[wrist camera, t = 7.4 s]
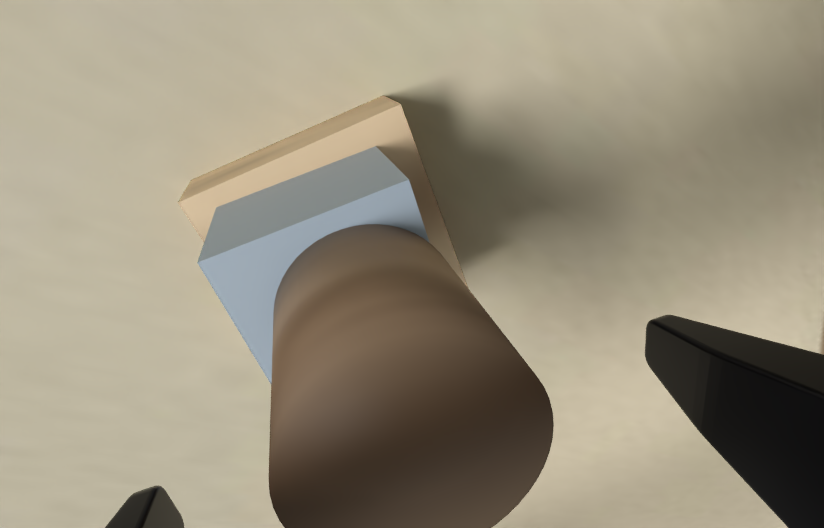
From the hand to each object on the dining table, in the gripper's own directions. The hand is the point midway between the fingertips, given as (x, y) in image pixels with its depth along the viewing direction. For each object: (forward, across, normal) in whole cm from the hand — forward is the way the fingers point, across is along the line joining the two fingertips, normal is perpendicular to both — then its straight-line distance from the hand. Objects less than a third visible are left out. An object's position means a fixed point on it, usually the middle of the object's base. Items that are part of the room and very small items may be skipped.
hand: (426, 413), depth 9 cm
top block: (+8, +1, 0) cm, 8 cm away
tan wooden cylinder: (+4, 0, 0) cm, 4 cm away
